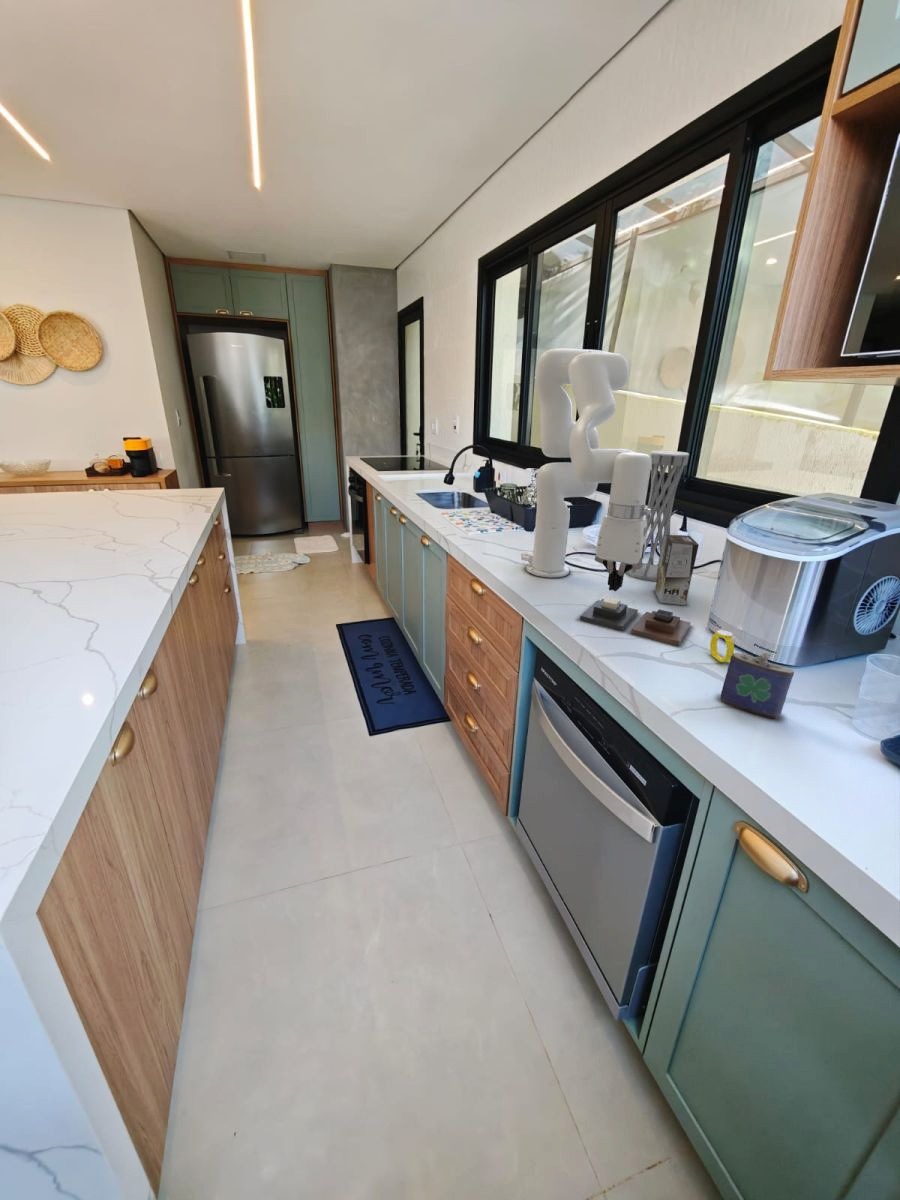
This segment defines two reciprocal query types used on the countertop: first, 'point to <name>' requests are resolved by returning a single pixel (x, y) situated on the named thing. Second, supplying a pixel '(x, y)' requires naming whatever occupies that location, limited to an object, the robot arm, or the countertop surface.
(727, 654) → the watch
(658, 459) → the grey lattice tower
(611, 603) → the ivory key
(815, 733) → the countertop surface
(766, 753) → the countertop surface
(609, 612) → the black key block
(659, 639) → the walnut key block
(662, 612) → the dark key
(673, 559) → the coffee box
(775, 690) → the flask
